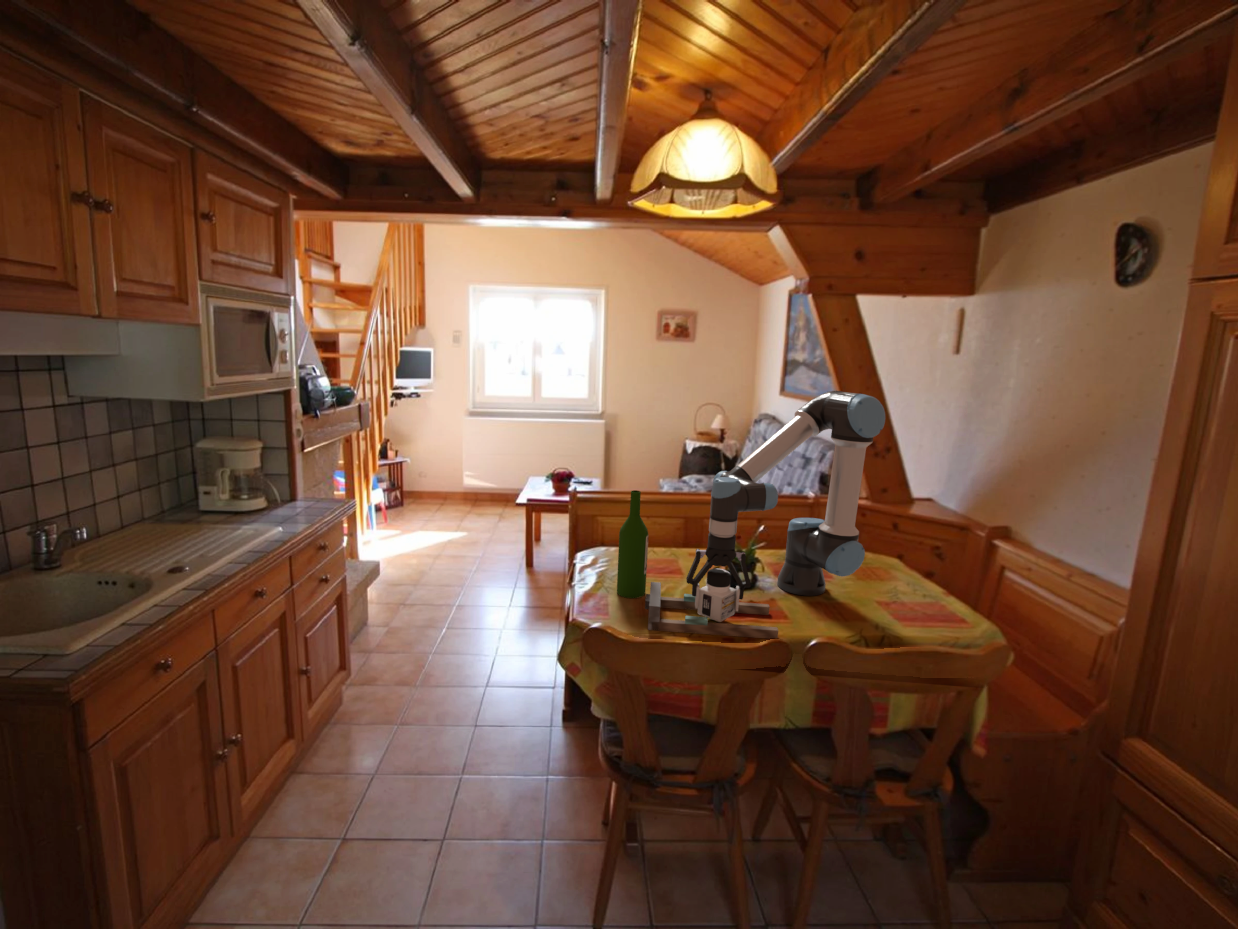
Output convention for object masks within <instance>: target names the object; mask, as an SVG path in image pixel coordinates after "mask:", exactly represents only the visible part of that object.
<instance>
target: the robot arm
mask: <svg viewBox="0 0 1238 929" xmlns="http://www.w3.org/2000/svg"><path fill="white" fill-rule="evenodd" d="M885 423H886V411H885V408H884V405H883V404H882V403H881V401H880V400H879V399H878V398H876V397H875V396H872V395H868V394H864V393H856V392H847V391H843V390H831V391H827V392H824V393H821V394H819V395H817V396H816V397H814V398H812V399H811V400H810V401H808V402H807V403H805V404H804V405H802V406H801V407H799V409H797V410H796V411H795V412H794V417H793V418H792V419H790V420H789V421H788V422H787V423H786V424H784V425H783V426H782V427H781V428H780V429H779V430H777V431H776V432H775V433H774V434H773V435H772V436H770V437H769V438H768V439H767V440H765V441H764V442H762V444H761V445H760V446H758V447H757V448H756V449H755V450H754V451H753V452H751V453H750V454H749V455H748V456H747V457H745V458H744V459H743V460H742V461H741V462H739V463H737V465H736V466H734V467H733V468H732V469H731V470H721V471H719V472H717V473H716V475H714V477H713V479H712V486H711V492H710V496H711V497H710V508H709V509H710V511H709V521H708V522H709V523H708V531H709V533H708V535H707V536H708V537H707V546H706V548H705V549H700V548H696V549H695V557H694V559H693V562H692V564H691V566H690V569H689V571H688V574H687V576H686V583H687V584H689V585H692V587H691V594H692V596H695V609H698V603H699V589H700V588H701V586H700V582H701V581H702V579H703V578H704V577H705V576H706V574H707V572H708V571H709V570H711V568H712V567H713V566H714V567H723V568H724V567H725V568H726V567H728V570H730V574H731V575H732V576H733V578H734V580H735V582H736V583H737V585H735V586H736V587H735V589H736V599H735V611H738V607H739V602H740V600H743V599H744V593H745V592H744V591H745V589H746V588H748V589H749V588H751V587H752V585H751V584H752V583H751V579H750V576H749V572H748V568H747V564H746V563H747V562H746V560H747V554H746V552H745V551H741V552H737V551H736V539H737V536H736V534H737V530H738V527H737V526H738V517H739V513H742V512H743V513H744V512H756V511H757V512H758V511H761V512H764V511H768V510H773V509H775V507H776V506H777V504H778V502H779V493H778V489H777V488H776V486H775V485H774V484H772V483H770V482H766V483H765V482H761V483H760V482H759V481H760V479H762V478H763V477H764V476H765V475H767V474H769V472H770V471H771V470H772V469H774V468H775V467H776V466H777V465H779V463H781V462H782V461H783V460H784V459H785V458H786V457H788V456H789V455H790V454H792V453H793V452H794V451H795V450H796V449H797V448H798V447H800V446H801V445H802V444H803V443H804V442H806V441H807V440H808V439H810V437H816V436H818V435H819V434H821V433H822V432H823V431H826V430H831V434H830V439H831V440H832V441H833V443H834V452H833V459H832V466H831V472H830V480H829V488H828V495H827V503H826V509H825V518H824V519H822V518H815V517H796V518H793V519H791V520H790V521H789V523H788V528H787V534H786V536H787V537H786V544H785V545H786V548H785V556H784V563H783V565H782V567H781V569H780V571H779V574H778V576H777V581H776V584H777V586H778V588H780V589H781V590H783V591H785V592H787V593H790V594H792V595H793V594H794V595H797V596H803V597H804V596H805V597H808V596H809V597H812V596H813V597H815V596H819V595H822V594H824V593H825V592H826V584H827V583H826V580H825V576H824V572H823V570H825V571H826V572H828V573H829V574H833V575H836V576H839V577H848V576H851V575H852V574H854V573H855V572H856V571H857V570H859V569H860V567H861V566H862V564H863V563H864V560H865V555H866V552H865V551H866V550H865V548H864V547H863V546H864V545H863V544H862V543H860V542H859V536H860V530H858V529H857V527H856V520H857V513H858V505H859V498H860V493H861V492H860V491H861V487H862V486H861V485H862V479H863V472H864V467H865V466H864V464H865V459H866V452H867V451H866V450H867V448H868V446H870V445H871V444H873V442H874V437H876V436H878V435H879V434H880V433H881V431H882V430H883V429H884V427H885ZM757 482H759V483H757ZM704 556H706V558H707V560H706V561H705V563H704V564H703V566H702V567H701V569H700V570H699V571H698V573H697V574H696V572H697V569H698V566H699V564H700V563H701V559H703V558H704ZM735 558H737V560H738V561H739V563H740V565H741V570H742V574H743V577H744V581H742V579H741V577H740V575H739V573H738V572H737V570H736V567H735V565H734V563H733V561H734V559H735ZM695 574H696V575H695Z"/></svg>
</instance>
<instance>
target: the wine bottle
mask: <svg viewBox="0 0 1238 929" xmlns="http://www.w3.org/2000/svg"><path fill="white" fill-rule="evenodd" d="M641 494H642V493H641V491H640V490H631V491H630V504H629V515H628V517H627V518H626V520H625V521H624V523H623V524H622V526H621V527H620V529H619V534H618V555H617V557H618V558H617V560H618V561H617V578H616V579H617V582H616V593H617V594H618V595H619V596H620V597H621V598H622V597H623V598H626V599H637V598H642V597H643V596H645V595H646V586H647V573H648V572H647V571H648V569H647V567H648V551H649V530H648V528H647V526H646V524H645V522H644V521H643V519H642V517H641Z"/></svg>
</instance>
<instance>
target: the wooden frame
mask: <svg viewBox="0 0 1238 929" xmlns="http://www.w3.org/2000/svg"><path fill="white" fill-rule="evenodd" d="M661 583H662V582H660V581H658V582H657V581H656V582H655V581H651V582H650V590H649V593H645V601H644V602H645V603H644V610H648V620H647V621H648V622H647V630H648V631H659V632H671V633H672V632H673V633H674V632H675V633H687V634H702V635H712V636H713V635H715V636H730V637H740V638H741V637H742V638H755V639H756V638H758V639H770V638H779V628H778V627H777V626H767V625H766V626H762V625H751V624H748V625H747V624H735V623H723V622H708V621H709V620H708V619H709V618H707V617H705V616H695V615H693V616H692V615H685V617H684V620H683V619H681V620H680V619H666V618H665V619H664V618H661V617H660V616H661V608H663V609H664V608H665V609H679V610H688V611H689V610H691V611H692V610H693V611H698V609H695V596H692V593H683V597H670V596H662V594H661V593H662V592H661V591H662V590H661V588H662V587H661V586H662V584H661ZM737 613H738V614H747V615H748V614H749V615H761V616H762V615H763V616H769V615H770V604H769V603H758V602H757V603H755V602H742V601H739V607H738V611H735V613H734V614H737ZM770 640H771V639H770Z"/></svg>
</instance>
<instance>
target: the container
mask: <svg viewBox="0 0 1238 929" xmlns="http://www.w3.org/2000/svg"><path fill="white" fill-rule="evenodd" d="M706 574H707V575H706V585H705V586H702V587H700V589H699V603H698V610H697V615H700V616H701V617H707V618H708V619H709V620H713V621H715V622H717V623H722V622H723V621H725V620H727V619H728V618H730V617H732V616H734V615H735V614H736V613H735V599H736V588H734V587H731V579H732V578H731V577H732V573H731V572H729V571H728V570H726V569H723V568H718V567H717V568H712V569H711V568H710V569H709V570H708V572H707V573H706Z"/></svg>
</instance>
